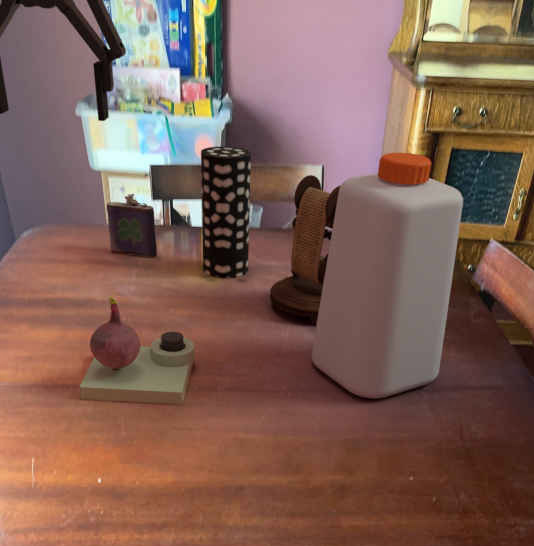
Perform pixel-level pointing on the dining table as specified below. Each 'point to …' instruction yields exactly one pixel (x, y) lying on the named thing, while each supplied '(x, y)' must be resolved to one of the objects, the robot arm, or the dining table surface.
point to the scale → (143, 377)
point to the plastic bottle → (388, 279)
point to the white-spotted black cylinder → (225, 210)
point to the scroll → (307, 250)
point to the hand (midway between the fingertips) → (53, 115)
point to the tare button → (172, 341)
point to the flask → (132, 228)
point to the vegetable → (115, 342)
